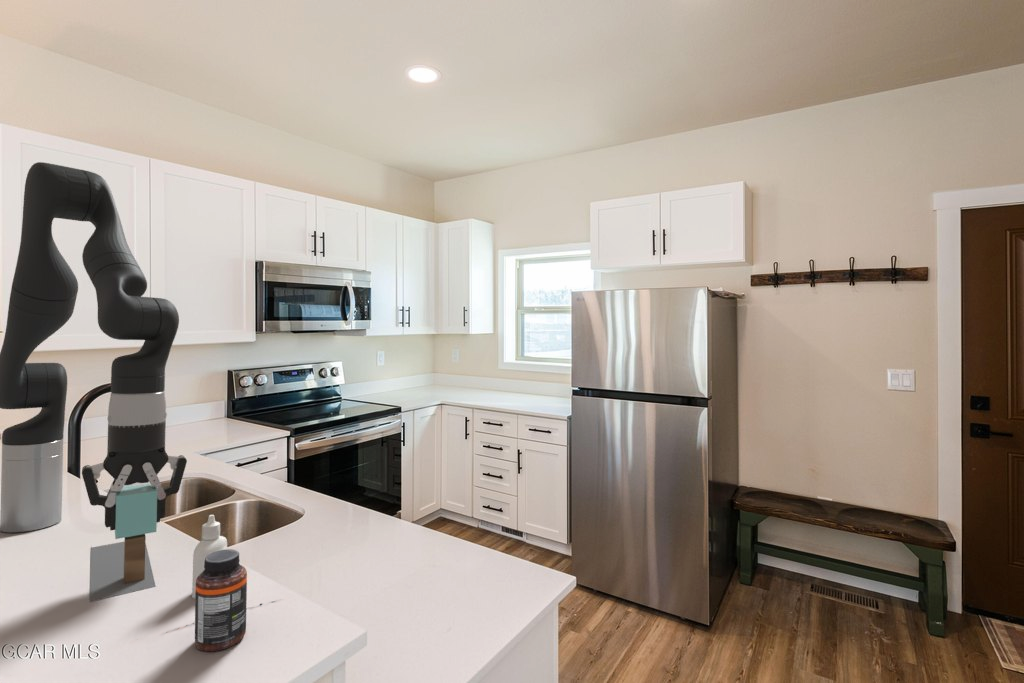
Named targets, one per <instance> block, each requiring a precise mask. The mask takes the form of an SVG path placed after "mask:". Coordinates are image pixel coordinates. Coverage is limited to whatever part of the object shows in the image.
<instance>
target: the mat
mask: <svg viewBox="0 0 1024 683" xmlns="http://www.w3.org/2000/svg"><path fill="white" fill-rule="evenodd" d="M124 542H125V540H124V541H120V542H114V543H109V544H103V545H102V544H101V545H99V546H91V547H90V564H89V565H90V566H89V567H90V569H89V571H90V573H89V578H90V579H89V603H93V602H96V601H101V600H104V599H110V598H113V597H118V596H123V595H126V594H129V593H134V592H139V591H143V590H148V589H151V588H155V587H157V586H156V582H155V577H154V573H153V569H152V565H151V560H150V557H149V552H148V547H147V543H146V542H147V541H145V580H140V581H136V582H131V583H127V584H124Z"/></svg>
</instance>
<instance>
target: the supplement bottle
mask: <svg viewBox="0 0 1024 683" xmlns="http://www.w3.org/2000/svg"><path fill="white" fill-rule="evenodd" d="M204 568H205V569H204V571H203V572H202V573H200V575H199V576H198V577H197V579H196V589H195V590H196V593H195V595H196V597H195V603H194V604H195V605H194V606H195V607H194V644H195V647H196V648H197V649H199V650H201V651H203V650H204V651H203V652H216V651H222V650H221V649H223V650H226V649H229V648H230V647H232V646H234V645H236V644H237V643H239V642H240V641H241V640H242V639H243V638H244V637H245V634H246V632H247V596H248V593H247V591H248V586H247V585H248V583H247V582H248V573H247V572H248V571H247V569H246V567H245V566H243V565H242V564H240V552H239V551H238V550H236V549H228V548H227V549H226V550H219V551H215V552H213V553H210V554H209V555H207V556H206V557H205V562H204ZM225 648H226V649H225Z"/></svg>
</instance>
